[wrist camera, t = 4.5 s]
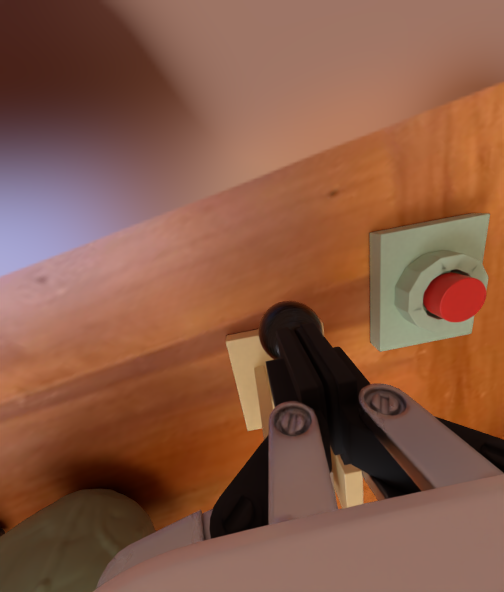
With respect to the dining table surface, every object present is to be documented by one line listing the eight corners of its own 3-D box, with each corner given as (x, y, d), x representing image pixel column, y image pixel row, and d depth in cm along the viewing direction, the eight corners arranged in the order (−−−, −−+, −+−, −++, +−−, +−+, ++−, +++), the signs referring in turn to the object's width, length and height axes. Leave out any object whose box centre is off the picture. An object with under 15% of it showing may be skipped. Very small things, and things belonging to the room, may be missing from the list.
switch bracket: (225, 335, 23) (220, 453, 12) (318, 316, 23) (401, 416, 12) (246, 422, 26) (258, 575, 15) (326, 405, 26) (395, 545, 15)
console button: (424, 276, 19) (442, 282, 17) (468, 268, 19) (490, 273, 17) (421, 317, 20) (437, 326, 18) (462, 309, 20) (482, 318, 18)
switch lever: (251, 299, 13) (256, 321, 10) (307, 288, 13) (330, 307, 10) (283, 469, 17) (294, 523, 14) (327, 460, 17) (347, 512, 14)
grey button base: (369, 232, 20) (395, 236, 17) (470, 213, 21) (515, 213, 17) (370, 342, 24) (392, 363, 21) (456, 325, 24) (491, 343, 21)
